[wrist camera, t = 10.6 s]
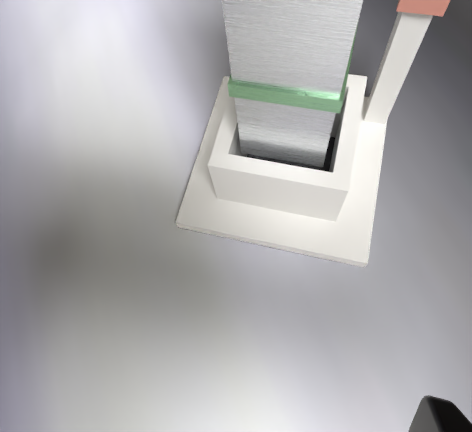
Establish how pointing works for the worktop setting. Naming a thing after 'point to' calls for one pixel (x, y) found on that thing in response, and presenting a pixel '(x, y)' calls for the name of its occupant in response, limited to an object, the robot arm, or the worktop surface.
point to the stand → (305, 179)
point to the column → (289, 73)
